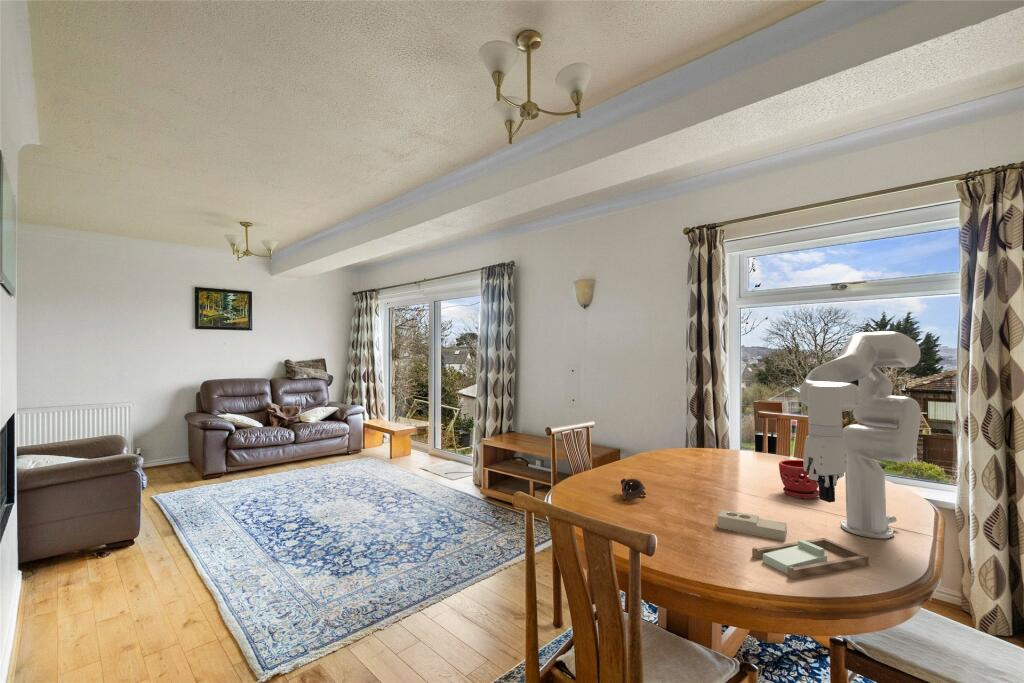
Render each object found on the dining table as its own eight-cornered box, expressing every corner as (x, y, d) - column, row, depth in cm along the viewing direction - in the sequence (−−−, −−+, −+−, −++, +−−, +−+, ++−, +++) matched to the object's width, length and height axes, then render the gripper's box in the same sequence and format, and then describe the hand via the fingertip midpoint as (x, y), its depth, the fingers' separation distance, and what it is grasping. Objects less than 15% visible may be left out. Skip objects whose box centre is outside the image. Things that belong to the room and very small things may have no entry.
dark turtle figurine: (653, 500, 170) (649, 483, 167) (635, 515, 167) (630, 498, 163) (630, 484, 180) (626, 468, 177) (612, 497, 177) (608, 482, 173)
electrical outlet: (784, 527, 132) (717, 515, 142) (785, 542, 132) (717, 529, 142) (786, 519, 138) (721, 508, 148) (786, 533, 138) (721, 521, 148)
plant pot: (808, 489, 177) (808, 458, 178) (828, 501, 164) (827, 467, 164) (773, 489, 179) (772, 458, 179) (790, 500, 166) (789, 467, 166)
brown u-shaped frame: (823, 544, 129) (823, 535, 129) (868, 564, 117) (868, 554, 117) (752, 556, 122) (752, 547, 122) (792, 579, 110) (791, 568, 110)
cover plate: (801, 554, 124) (801, 538, 124) (827, 565, 118) (826, 549, 118) (763, 563, 119) (762, 547, 119) (787, 575, 113) (787, 559, 113)
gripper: (833, 427, 127) (835, 493, 127) (790, 430, 123) (792, 499, 123) (860, 431, 120) (862, 502, 120) (815, 435, 116) (817, 508, 116)
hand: (826, 500), depth 121 cm, fingers closed
